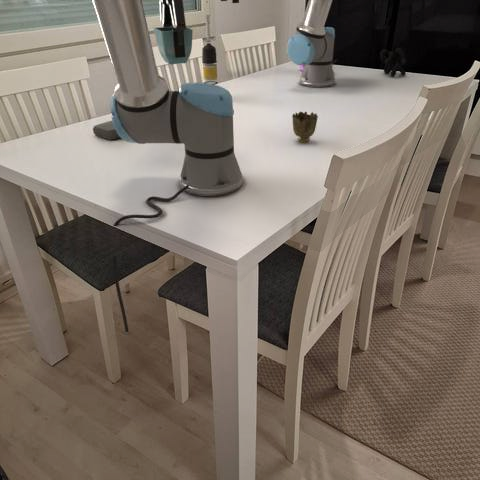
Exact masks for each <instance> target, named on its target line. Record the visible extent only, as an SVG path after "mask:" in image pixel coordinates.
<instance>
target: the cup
mask: <svg viewBox="0 0 480 480" xmlns="http://www.w3.org/2000/svg"><path fill="white" fill-rule="evenodd" d="M291 116H292V117H291V118H292V130H293V133H294V135H295V136H296V137H297V141H298V142H299V143H301V144H302V143H303V144H304V143H305V144H306V143H308V142H310V139H311V137H312V136H313V135H314V134H315V132H316V128H317V123H318V118H319V115H318V114H317V113H314V112H313V111H311V112H310V113H309V114H308V112H307V111H304V112H303V111H299V112H295V113H292V115H291Z"/></svg>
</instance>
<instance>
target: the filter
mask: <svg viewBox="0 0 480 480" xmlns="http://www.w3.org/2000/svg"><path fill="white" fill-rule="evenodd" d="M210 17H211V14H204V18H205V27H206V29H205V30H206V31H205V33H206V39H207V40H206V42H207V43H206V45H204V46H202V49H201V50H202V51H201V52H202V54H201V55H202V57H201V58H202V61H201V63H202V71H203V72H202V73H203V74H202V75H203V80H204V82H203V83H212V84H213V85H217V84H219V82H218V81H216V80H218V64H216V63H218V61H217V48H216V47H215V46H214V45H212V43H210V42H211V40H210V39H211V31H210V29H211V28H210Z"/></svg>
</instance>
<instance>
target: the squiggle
mask: <svg viewBox="0 0 480 480" xmlns="http://www.w3.org/2000/svg"><path fill="white" fill-rule="evenodd" d="M385 55H386V56H385ZM387 56H388V57H387ZM379 57H380V61H381V62H382V63H384V64H385V65H384V67H383V73H384V74H385V75H390V77H392V78H394V77H395V76H396V75H397V72H399V73H400V74H401V76H405V75H406V73H407V72H406V71H405V69H404V68H403V67H402V66H404V65H405V64H406V61H407V60H406V57H405V54H404V51H403V49H402V48H400V47H397V48H396V49H395V54H394V51H389V50H387V49H382V50H381V51H380V53H379ZM399 59H400V62H398V60H399Z"/></svg>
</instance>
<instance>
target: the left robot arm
mask: <svg viewBox="0 0 480 480" xmlns="http://www.w3.org/2000/svg"><path fill="white" fill-rule="evenodd" d="M183 1H184V0H159V18H160V19H159V20H160V21H159V22H160V24H161V25H162V26H161V27H174V28H173V29H172V30H171V31H172V32H173V38H174V49H175V58H181V57H185V44H184V29H186V27H187V24H186V16H185V15H186V14H185V9H184V2H183ZM92 4H93V6H94V9H95V12H96V15H97V19H98V22H99V25H100V28H101V31H102V35H103V38H104V41H105V44H106V48H107V51H108V55H109V57H110V61H111V64H112V67H113V70H114V74H115V77H116V80H117V85H116V86H115V89H114V93H113V94H112V96H111V99H110V103H109V105H110V107H109V108H110V113H111V121H113V125H114V127H115V130H116V131H117V133H118V135H119V136H120V139H122V140H123V141H124V142H126V143H132V144H138V145H146V144H177V145H178V144H179V145H180V144H181V145H182V144H183V146H184V154H185V155H184V158H183V164H182V168H181V171H180V176H179V183H180V184H179V185H180V188H181V189H179V190H178V191H176V192H175V194H174V195H172V196H171V197H167V198H166V197H160V196H150V197H148V198H147V199H145V203H146V204H147V206H149V207H151V208H153V209H154V210H157V211H158V212H157V213H155V214H127V215H124V216H122V217H119V218H118V219H117V220H116V221H114V223H113V225H112V226H113V227H117V226H118V225H119V224H120V223H121V222H123V221H125V220H129V219H156V218H158V217H160V216H161V215H162V214H163V209H162V208H161V207H159V206H158V205H157V204H154V203H152V202H151V201H153V200H155V201H159V202H172V201H174V200H175V199H176V198H178V196H180V195H181V194H182V193H184V192H186V193H187V194H190V195H194V196H199V197H221V196H224V195H229V194H232V193H234V192H235V191H237V190H239V189H240V188H241V187H242V185H243V174H242V171H241V168H240V165H239V163H238V160H237V157H236V154H235V138H234V137H235V135H234V134H235V133H234V114H235V110H234V104H233V96H232V94H231V92H230V91H229V90H228V89H226V88H225V87H222V86H220V85H217V84H214V83H209V82H207V83H204V82H186V83H183V84H181V85H180V86H179V89H178V90H170V89H169V85H168V82H167V80H166V79H165V78H164V77H162V76H161V75H159V73H158V68H157V63H156V59H155V54H154V50H153V45H152V40H151V36H150V32H149V26H148V23H147V22H148V21H147V17H146V14H145V9H144V4H143V0H92ZM213 84H214V85H213ZM112 268H113V276H114V284H115V289H116V294H117V299H118V303H119V307H120V312H121V316H122V320H123V325H124V331H125V333H128V332H129V326H128V320H127V315H126V310H125V307H124V306H125V305H124V302H123V298H122V293H121V287H120V283H119V277H118V266H117V256H116V255H112Z"/></svg>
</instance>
